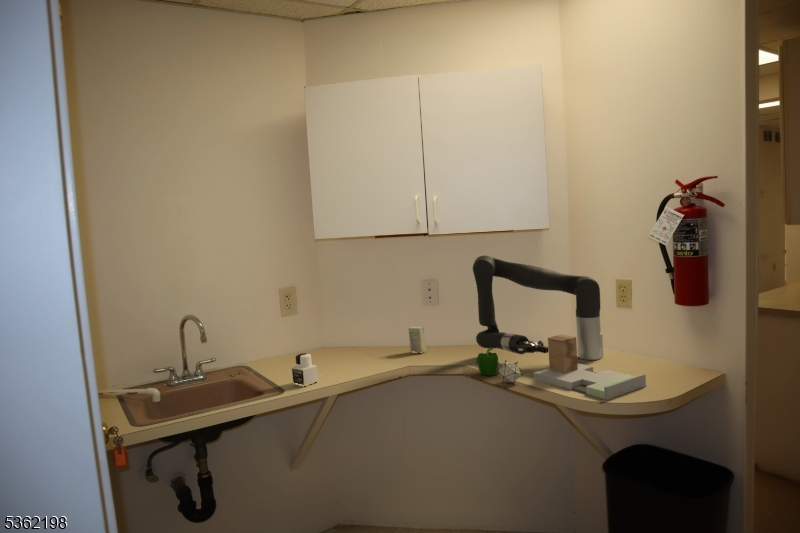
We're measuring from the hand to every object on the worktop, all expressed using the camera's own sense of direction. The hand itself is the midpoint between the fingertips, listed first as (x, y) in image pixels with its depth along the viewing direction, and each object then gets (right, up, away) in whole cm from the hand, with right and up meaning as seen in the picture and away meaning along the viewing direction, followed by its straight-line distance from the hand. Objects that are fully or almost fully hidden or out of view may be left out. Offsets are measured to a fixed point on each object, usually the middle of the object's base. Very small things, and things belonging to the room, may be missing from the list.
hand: (547, 350), depth 195 cm
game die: (-16, -11, -9) cm, 21 cm away
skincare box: (-47, -9, +47) cm, 67 cm away
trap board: (+10, -9, -15) cm, 20 cm away
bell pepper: (-21, -10, +4) cm, 24 cm away
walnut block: (+4, -6, -6) cm, 10 cm away
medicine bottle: (-93, -15, +10) cm, 95 cm away
